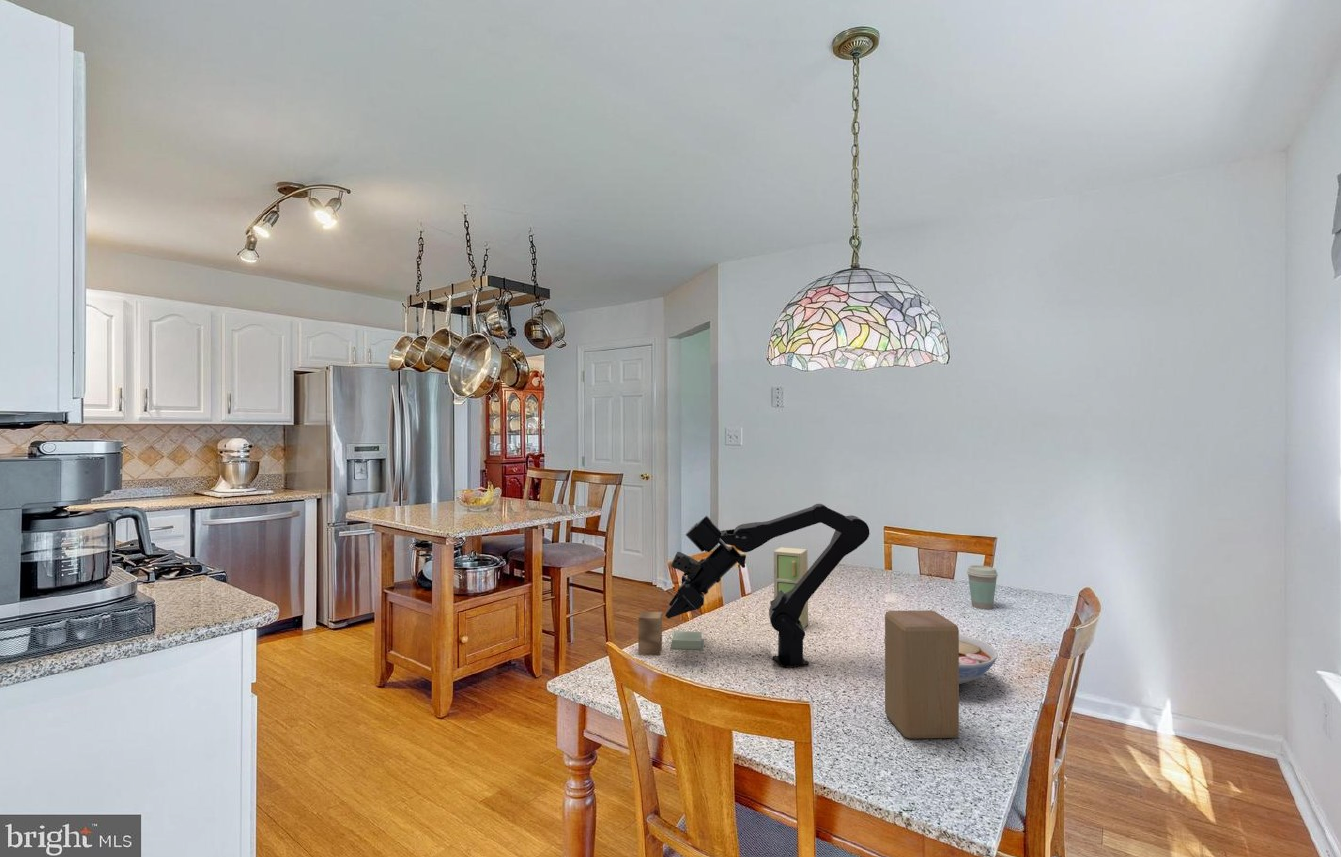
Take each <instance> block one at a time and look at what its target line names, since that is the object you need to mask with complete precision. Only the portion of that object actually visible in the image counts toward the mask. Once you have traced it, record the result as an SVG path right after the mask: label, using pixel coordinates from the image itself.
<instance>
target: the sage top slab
mask: <svg viewBox="0 0 1341 857" xmlns="http://www.w3.org/2000/svg"><path fill="white" fill-rule="evenodd" d="M702 634H703V632H702V631H694V630H693V631H689V630H688V631H686V630H674V631H673V634H672V639H671V643H672V648H673V649H672V650H677V649H701V642H702V639H703V638H702V636H703V635H702Z"/></svg>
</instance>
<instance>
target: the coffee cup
mask: <svg viewBox="0 0 1341 857" xmlns="http://www.w3.org/2000/svg"><path fill="white" fill-rule="evenodd" d="M966 572H967V575H968V576H967V577H968V584H969V593H970V602H971V607H973V608H976V609H980V610H992V609H993V608H994V603H995V596H996V594H995V593H996V586H997V578H998V576H999V575H998V572H997V568H995V567H992V566H988V565H978V564H977V565H969V566H968V569H967V570H966Z"/></svg>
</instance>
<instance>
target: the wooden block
mask: <svg viewBox="0 0 1341 857" xmlns="http://www.w3.org/2000/svg"><path fill="white" fill-rule="evenodd" d="M959 634H960V630H959V627H958V625H957V624H955V622H953V621H951V620H949V619H947V618H946V617H944V616H943V615H941V614H940V613H939V612H937V611H935V610H928V609H925V610H888V611H886V612H885V614H884V639H885V643H884V714H885V715H886V717H887V719H889V721H890V722H891V723H892V724H893V725H894V726H895V727H896V729H897V730H898V731H899V732H900V734H902V736H903V738H906V739H950V738H951V739H956V738H958V737H959V735H960V684H959Z"/></svg>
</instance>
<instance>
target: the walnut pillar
mask: <svg viewBox="0 0 1341 857" xmlns="http://www.w3.org/2000/svg"><path fill="white" fill-rule="evenodd" d="M662 631H663V612H662V611H641V612H640V614H639V616H638V634H637V635H638V641H637V642H638V643H637V644H638V647H637V648H638V654H637V655H638V656H660V655H661V652H662V649H663V632H662Z"/></svg>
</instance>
